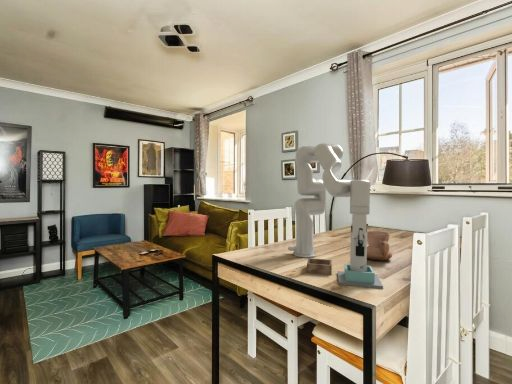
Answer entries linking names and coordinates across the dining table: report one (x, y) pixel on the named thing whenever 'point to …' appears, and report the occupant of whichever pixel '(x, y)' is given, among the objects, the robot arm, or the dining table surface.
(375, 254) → the ceramic jug
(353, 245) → the travel mug
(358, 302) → the dining table surface
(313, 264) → the frame
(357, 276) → the dock
